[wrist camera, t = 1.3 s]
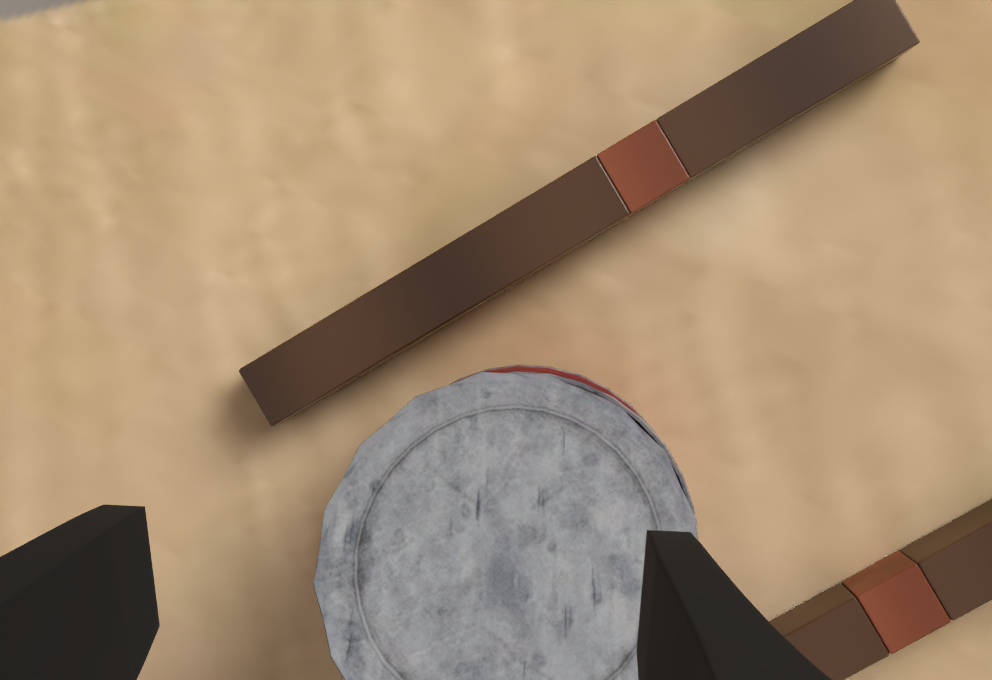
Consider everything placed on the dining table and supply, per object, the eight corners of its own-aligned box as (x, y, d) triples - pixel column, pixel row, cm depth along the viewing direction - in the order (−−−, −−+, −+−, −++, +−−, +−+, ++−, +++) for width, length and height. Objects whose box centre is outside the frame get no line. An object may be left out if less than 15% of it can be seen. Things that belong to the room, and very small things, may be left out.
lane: (524, 827, 29) (523, 855, 28) (253, 367, 29) (237, 370, 28) (1153, 484, 28) (1187, 494, 26) (867, -2, 28) (885, -19, 26)
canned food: (390, 460, 34) (242, 365, 25) (653, 371, 32) (592, 235, 23) (453, 796, 29) (296, 823, 20) (769, 712, 27) (748, 702, 18)
